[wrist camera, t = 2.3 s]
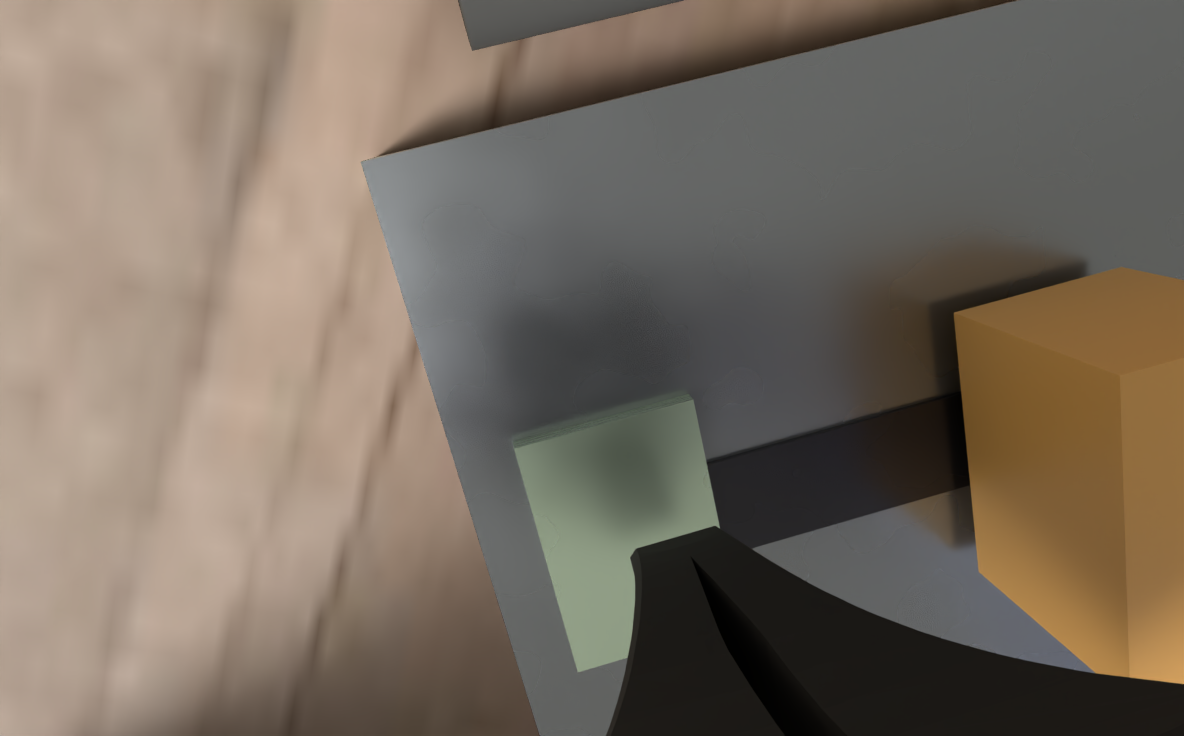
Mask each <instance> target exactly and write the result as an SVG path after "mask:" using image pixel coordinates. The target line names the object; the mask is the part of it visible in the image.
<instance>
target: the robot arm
mask: <svg viewBox="0 0 1184 736" xmlns="http://www.w3.org/2000/svg"><path fill="white" fill-rule="evenodd" d="M630 560H631V564H632V568H633V572H634V576H635V607H634V618H633V629H632V637H631V642H630V648H629V653H628V658H627V664H626V669H625V674H624V678H623V682H622V686H621V690H620V694H619V697H618V701H617V704H616V707H615V711H614V714H613V717H612V720H611V723H610V726H609V729H608V732H607V734H606V736H1184V684H1179V683H1171V682H1163V681H1155V680H1146V679H1138V678H1130V677H1122V676H1114V675H1105V674H1097V673H1090V672H1084V671H1078V670H1073V669H1068V668H1063V667H1057V666H1052V665H1047V664H1042V663H1036V662H1031V661H1026V660H1022V659H1018V658H1013V657H1009V656H1005V655H1000V654H996V653H992V652H988V651H985V650H981V649H978V648H974V647H971V646H967V645H963V644H960V643H956V642H953V641H949V640H946V639H942V638H939V637H936V636H933V635H930V634H927V633H924V632H921V631H918V630H915V629H913V628H910V627H907V626H905V625H902V624H899V623H897V622H894V621H891V620H889V619H886V618H883V617H881V616H878V615H876V614H873V613H871V612H869V611H866V610H864V609H861V608H859V607H857V606H855V605H853V604H851V603H848V602H846V601H844V600H842V599H840V598H838V597H836V596H834V595H832V594H830V593H828V592H825V591H823V590H821V589H819V588H818V587H816V586H814V585H812V584H810V583H808V582H806V581H805V580H803V579H801V578H799V577H798V576H796V575H794V574H792V573H791V572H789V571H787V570H785V569H784V568H782V567H780V566H779V565H777V564H775V563H774V562H772V561H770V560H769V559H767V558H765V557H764V556H762V555H761V554H759V553H757V552H756V551H754V550H753V549H751V548H750V547H748V546H746V545H745V544H743V543H742V542H740V541H739V540H737V539H736V538H734V537H733V536H731V535H730V534H728V533H726V532H725V531H723V530H721V529H720V528H718V527H716V526H712V527H709V528H705V529H702V530H699V531H695V532H692V533H688V534H685V535H681V536H678V537H674V538H671V539H667V540H664V541H660V542H657V543H653V544H650V545H647V546H643V547H640V548H636V549H635V551H634V552H633V554H632V555H631V557H630Z"/></svg>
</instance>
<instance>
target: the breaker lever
mask: <svg viewBox="0 0 1184 736" xmlns="http://www.w3.org/2000/svg"><path fill="white" fill-rule="evenodd" d="M954 322H955V333H956V343H957V353H958V364H959V374H960V384H961V395H962V405H963V415H964V426H965V436H966V446H967V457H968V467H969V477H970V488H971V498H972V508H973V519H974V529H975V539H976V549H977V560H978V570H979V573H981V574H982V575H983V576H984V577H985V578H986V579H988V580H989V581H990V582H991V583H992V584H993V585H994V586H996V587H997V588H998V589H999V590H1000V591H1001V592H1003V593H1004V594H1005V595H1006V596H1007V597H1008V598H1009V599H1011V600H1012V601H1013V602H1014V603H1015V604H1016V605H1018V606H1019V607H1020V608H1021V609H1022V610H1023V611H1025V612H1026V613H1027V614H1028V615H1029V616H1030V617H1031V618H1033V619H1034V620H1035V621H1036V622H1037V623H1038V624H1040V625H1041V626H1042V627H1043V628H1044V629H1045V630H1046V631H1048V632H1049V633H1050V634H1051V635H1052V636H1053V637H1055V638H1056V639H1057V640H1058V641H1059V642H1060V643H1061V644H1063V645H1064V646H1065V647H1066V648H1067V649H1068V650H1070V651H1071V652H1072V653H1073V654H1074V655H1075V656H1076V657H1078V658H1079V659H1080V660H1081V661H1082V662H1083V663H1085V664H1086V665H1087V666H1088V667H1089V668H1090V669H1091V670H1093V671H1094V672H1095V673H1097V674H1105V675H1114V676H1122V677H1130V678H1138V679H1146V680H1155V681H1163V682H1171V683H1179V684H1184V280H1181V279H1176V278H1171V277H1167V276H1162V275H1157V274H1152V273H1148V272H1143V271H1138V270H1134V269H1129V268H1124V267H1119V268H1116V269H1112V270H1108V271H1105V272H1101V273H1097V274H1094V275H1090V276H1086V277H1083V278H1079V279H1075V280H1072V281H1068V282H1064V283H1061V284H1057V285H1053V286H1050V287H1046V288H1042V289H1039V290H1035V291H1031V292H1028V293H1024V294H1020V295H1017V296H1013V297H1009V298H1006V299H1002V300H998V301H995V302H991V303H987V304H984V305H980V306H976V307H973V308H969V309H965V310H962V311H958V312H954Z"/></svg>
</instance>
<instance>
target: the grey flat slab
mask: <svg viewBox="0 0 1184 736" xmlns="http://www.w3.org/2000/svg"><path fill="white" fill-rule="evenodd" d="M361 164H362V167H363V171H364V174H365V177H366V180H367V183H368V187H369V190H370V193H371V196H372V199H373V203H374V206H375V209H376V212H377V215H378V219H379V222H380V225H381V228H382V231H383V235H384V238H385V241H386V244H387V248H388V251H389V254H390V257H391V260H392V264H393V267H394V270H395V273H396V276H397V280H398V283H399V286H400V289H401V292H402V296H403V299H404V302H405V305H406V308H407V312H408V315H409V318H410V321H411V324H412V328H413V331H414V334H415V337H416V341H417V344H418V347H419V350H420V353H421V357H422V360H423V363H424V366H425V369H426V373H427V376H428V379H429V382H430V385H431V389H432V392H433V395H434V398H435V401H436V405H437V408H438V411H439V414H440V418H441V421H442V424H443V427H444V430H445V434H446V437H447V440H448V443H449V446H450V450H451V453H452V456H453V459H454V462H455V466H456V469H457V472H458V475H459V478H460V482H461V485H462V488H463V491H464V494H465V498H466V501H467V504H468V507H469V511H470V514H471V517H472V520H473V523H474V527H475V530H476V533H477V536H478V539H479V543H480V546H481V549H482V552H483V555H484V559H485V562H486V565H487V568H488V571H489V575H490V578H491V581H492V584H493V587H494V591H495V594H496V597H497V600H498V604H499V607H500V610H501V613H502V616H503V620H504V623H505V626H506V629H507V632H508V636H509V639H510V642H511V645H512V648H513V652H514V655H515V658H516V661H517V664H518V668H519V671H520V674H521V677H522V681H523V684H524V687H525V690H526V693H527V697H528V700H529V703H530V706H531V709H532V713H533V716H534V719H535V722H536V725H537V729H538V732H539V735H540V736H606V734H607V732H608V729H609V726H610V723H611V720H612V717H613V714H614V711H615V707H616V704H617V701H618V697H619V694H620V690H621V686H622V682H623V678H624V674H625V669H626V664H627V658H628V653H629V648H630V642H631V637H632V629H633V618H634V607H635V576H634V572H633V568H632V564H631V560H630V557H631V555H632V554H633V552H634V551H635V549H636V548H640V547H643V546H647V545H650V544H653V543H657V542H660V541H664V540H667V539H671V538H674V537H678V536H681V535H685V534H688V533H692V532H695V531H699V530H702V529H705V528H709V527H712V526H716V527H718V528H720V529H721V530H723V531H725V532H726V533H728V534H730V535H731V536H733V537H734V538H736V539H737V540H739V541H740V542H742V543H743V544H745V545H746V546H748V547H750V548H751V549H753V550H754V551H756V552H757V553H759V554H761V555H762V556H764V557H765V558H767V559H769V560H770V561H772V562H774V563H775V564H777V565H779V566H780V567H782V568H784V569H785V570H787V571H789V572H791V573H792V574H794V575H796V576H798V577H799V578H801V579H803V580H805V581H806V582H808V583H810V584H812V585H814V586H816V587H818V588H819V589H821V590H823V591H825V592H828V593H830V594H832V595H834V596H836V597H838V598H840V599H842V600H844V601H846V602H848V603H851V604H853V605H855V606H857V607H859V608H861V609H864V610H866V611H869V612H871V613H873V614H876V615H878V616H881V617H883V618H886V619H889V620H891V621H894V622H897V623H899V624H902V625H905V626H907V627H910V628H913V629H915V630H918V631H921V632H924V633H927V634H930V635H933V636H936V637H939V638H942V639H946V640H949V641H953V642H956V643H960V644H963V645H967V646H971V647H974V648H978V649H981V650H985V651H988V652H992V653H996V654H1000V655H1005V656H1009V657H1013V658H1018V659H1022V660H1026V661H1031V662H1036V663H1042V664H1047V665H1052V666H1057V667H1063V668H1068V669H1073V670H1078V671H1084V672H1090V673H1095V672H1094V671H1093V670H1091V669H1090V668H1089V667H1088V666H1087V665H1086V664H1085V663H1083V662H1082V661H1081V660H1080V659H1079V658H1078V657H1076V656H1075V655H1074V654H1073V653H1072V652H1071V651H1070V650H1068V649H1067V648H1066V647H1065V646H1064V645H1063V644H1061V643H1060V642H1059V641H1058V640H1057V639H1056V638H1055V637H1053V636H1052V635H1051V634H1050V633H1049V632H1048V631H1046V630H1045V629H1044V628H1043V627H1042V626H1041V625H1040V624H1038V623H1037V622H1036V621H1035V620H1034V619H1033V618H1031V617H1030V616H1029V615H1028V614H1027V613H1026V612H1025V611H1023V610H1022V609H1021V608H1020V607H1019V606H1018V605H1016V604H1015V603H1014V602H1013V601H1012V600H1011V599H1009V598H1008V597H1007V596H1006V595H1005V594H1004V593H1003V592H1001V591H1000V590H999V589H998V588H997V587H996V586H994V585H993V584H992V583H991V582H990V581H989V580H988V579H986V578H985V577H984V576H983V575H982V574H981V573H979V570H978V560H977V549H976V539H975V529H974V519H973V508H972V498H971V488H970V477H969V467H968V457H967V446H966V436H965V426H964V415H963V405H962V395H961V384H960V374H959V364H958V353H957V343H956V333H955V322H954V312H958V311H962V310H965V309H969V308H973V307H976V306H980V305H984V304H987V303H991V302H995V301H998V300H1002V299H1006V298H1009V297H1013V296H1017V295H1020V294H1024V293H1028V292H1031V291H1035V290H1039V289H1042V288H1046V287H1050V286H1053V285H1057V284H1061V283H1064V282H1068V281H1072V280H1075V279H1079V278H1083V277H1086V276H1090V275H1094V274H1097V273H1101V272H1105V271H1108V270H1112V269H1116V268H1119V267H1124V268H1129V269H1134V270H1138V271H1143V272H1148V273H1152V274H1157V275H1162V276H1167V277H1171V278H1176V279H1181V280H1184V0H1014V1H1010V2H1006V3H1002V4H998V5H994V6H990V7H986V8H982V9H978V10H974V11H970V12H966V13H961V14H957V15H953V16H949V17H945V18H941V19H937V20H933V21H929V22H925V23H921V24H917V25H913V26H908V27H904V28H900V29H896V30H892V31H888V32H884V33H880V34H876V35H872V36H868V37H864V38H859V39H855V40H851V41H847V42H843V43H839V44H835V45H831V46H827V47H823V48H819V49H815V50H811V51H806V52H802V53H798V54H794V55H790V56H786V57H782V58H778V59H774V60H770V61H766V62H762V63H758V64H753V65H749V66H745V67H741V68H737V69H733V70H729V71H725V72H721V73H717V74H713V75H709V76H704V77H700V78H696V79H692V80H688V81H684V82H680V83H676V84H672V85H668V86H664V87H660V88H656V89H651V90H647V91H643V92H639V93H635V94H631V95H627V96H623V97H619V98H615V99H611V100H607V101H603V102H598V103H594V104H590V105H586V106H582V107H578V108H574V109H570V110H566V111H562V112H558V113H554V114H550V115H545V116H541V117H537V118H533V119H529V120H525V121H521V122H517V123H513V124H509V125H505V126H501V127H496V128H492V129H488V130H484V131H480V132H476V133H472V134H468V135H464V136H460V137H456V138H452V139H448V140H443V141H439V142H435V143H431V144H427V145H423V146H419V147H415V148H411V149H407V150H403V151H399V152H395V153H390V154H386V155H382V156H378V157H374V158H371V159H368V160H365V161H362V162H361Z"/></svg>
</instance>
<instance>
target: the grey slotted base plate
mask: <svg viewBox="0 0 1184 736" xmlns="http://www.w3.org/2000/svg"><path fill="white" fill-rule="evenodd" d="M679 1H683V0H458V2H459V6H460V10H461V13H462V17H463V21H464V25H465V28H466V32H467V35H468V39H469V42H470V45H471V48H472V51H473V50H477V49H482V48H486V47H490V46H494V45H498V44H503V43H507V42H511V41H515V40H519V39H524V38H528V37H532V36H536V35H540V34H545V33H549V32H553V31H557V30H561V29H566V28H570V27H574V26H578V25H582V24H587V23H591V22H595V21H599V20H603V19H608V18H612V17H616V16H620V15H625V14H629V13H633V12H637V11H641V10H646V9H650V8H654V7H658V6H662V5H667V4H671V3H675V2H679Z"/></svg>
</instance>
